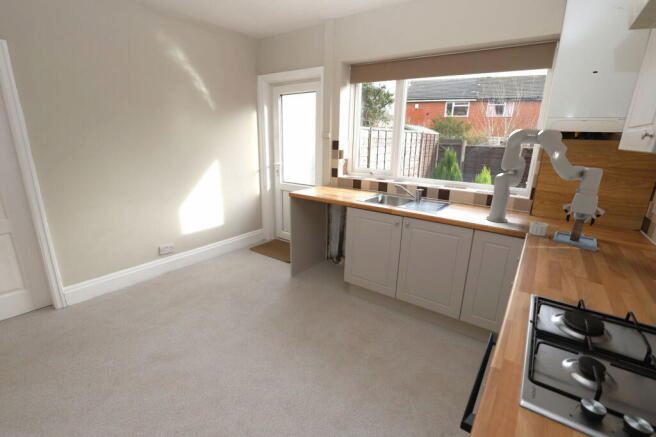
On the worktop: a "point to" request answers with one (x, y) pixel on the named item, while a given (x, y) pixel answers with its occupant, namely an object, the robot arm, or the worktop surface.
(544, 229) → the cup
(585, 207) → the robot arm
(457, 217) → the worktop surface
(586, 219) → the wine glass
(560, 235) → the tray
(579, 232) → the dowel
